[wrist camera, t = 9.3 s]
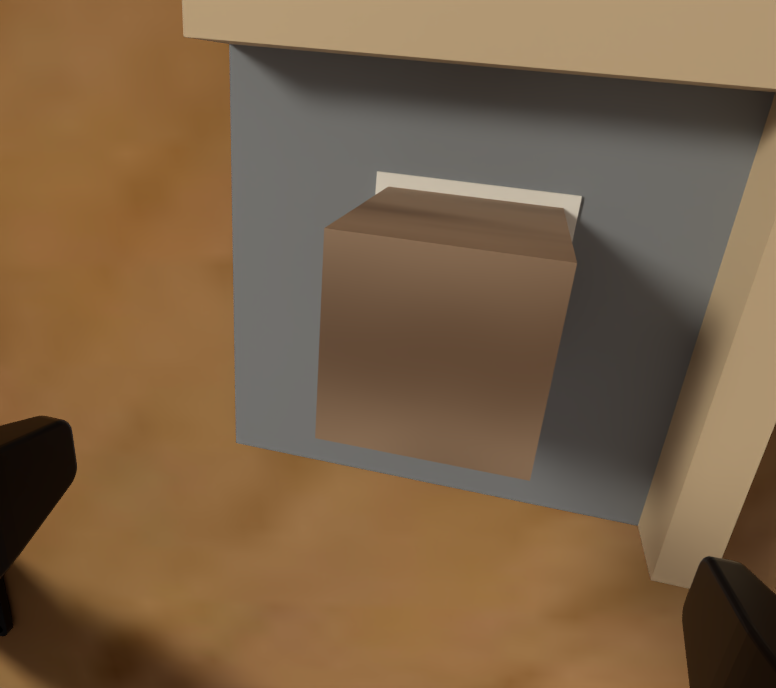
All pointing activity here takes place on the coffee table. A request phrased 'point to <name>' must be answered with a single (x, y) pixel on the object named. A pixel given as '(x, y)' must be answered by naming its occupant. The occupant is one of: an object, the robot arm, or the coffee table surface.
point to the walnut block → (442, 327)
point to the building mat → (540, 187)
